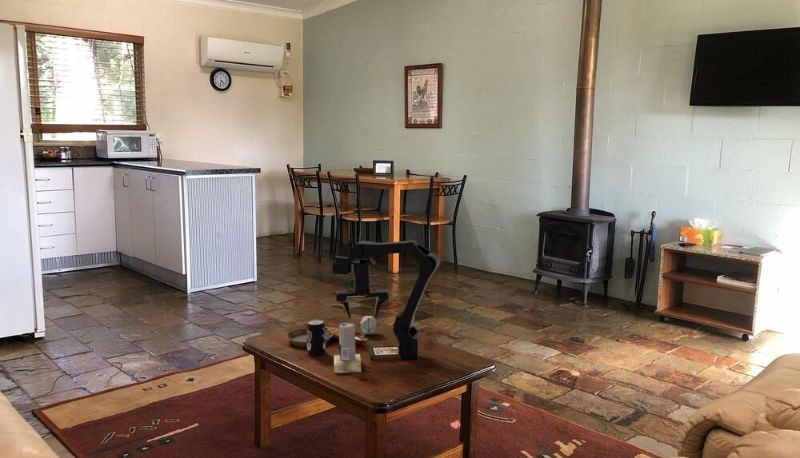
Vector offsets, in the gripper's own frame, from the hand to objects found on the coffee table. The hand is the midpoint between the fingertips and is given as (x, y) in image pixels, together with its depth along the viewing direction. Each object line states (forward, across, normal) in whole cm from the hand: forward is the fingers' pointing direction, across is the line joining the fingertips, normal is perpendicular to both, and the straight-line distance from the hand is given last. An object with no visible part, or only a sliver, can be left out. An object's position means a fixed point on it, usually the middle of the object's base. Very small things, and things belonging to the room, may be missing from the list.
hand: (362, 318), depth 227 cm
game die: (+13, -3, -20) cm, 24 cm away
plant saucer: (+14, +20, -15) cm, 28 cm away
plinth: (+13, +6, +14) cm, 20 cm away
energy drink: (+10, +6, +14) cm, 18 cm away
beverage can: (+13, +17, -1) cm, 22 cm away
